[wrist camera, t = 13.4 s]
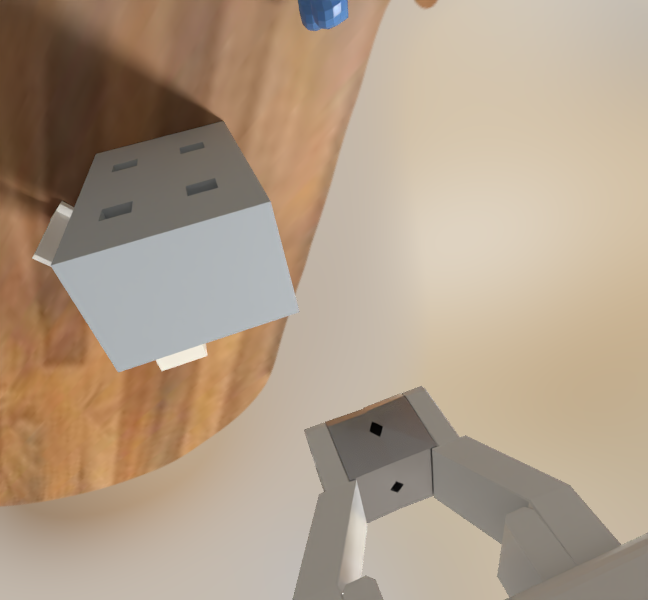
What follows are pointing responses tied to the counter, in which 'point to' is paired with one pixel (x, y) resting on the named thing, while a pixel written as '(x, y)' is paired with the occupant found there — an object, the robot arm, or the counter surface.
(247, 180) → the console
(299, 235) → the counter surface
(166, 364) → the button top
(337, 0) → the grapes
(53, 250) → the card
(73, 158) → the counter surface
